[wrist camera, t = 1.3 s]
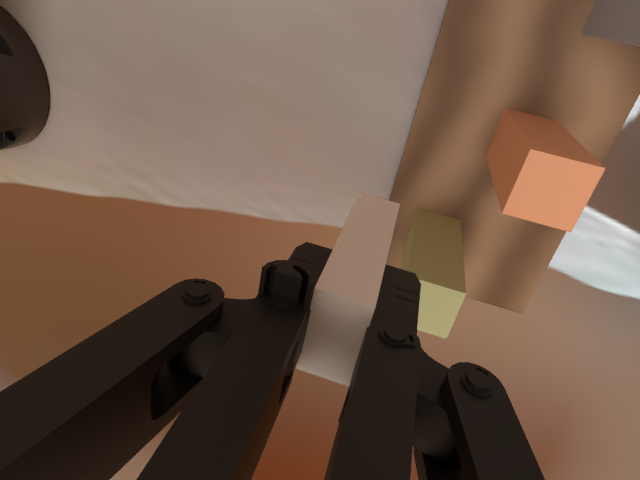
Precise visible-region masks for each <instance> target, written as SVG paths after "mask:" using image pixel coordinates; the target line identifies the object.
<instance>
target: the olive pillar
mask: <svg viewBox="0 0 640 480" xmlns="http://www.w3.org/2000/svg"><path fill="white" fill-rule="evenodd" d="M400 269H403V270H406V271H409V272H413V273H415V274H416V275H417V277H418V279H419V281H420V283H421V291H420V302H419V314H418V325H417V330H419V331H423V332H426V333H429V334H432V335H436V336H439V337H442V338H445V339H446V338H447V336H448V334H449V332H450V330H451V327H452V325H453V323H454V321H455V318H456V316H457V314H458V312H459V309H460V307H461V304H462V303H463V300H464V298H465V296H466V282H465V269H464V256H463V243H462V230H461V220H459V219H455V218H452V217H448V216H445V215H441V214H437V213H434V212H430V211H427V210H423V209H420V208H416V211H415V214H414V217H413V220H412V223H411V226H410V229H409V232H408V235H407V238H406V241H405V244H404V249H403V255H402V261H401V266H400Z"/></svg>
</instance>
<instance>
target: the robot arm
mask: <svg viewBox="0 0 640 480" xmlns="http://www.w3.org/2000/svg"><path fill="white" fill-rule="evenodd" d="M48 109H49V90H48V84H47V79H46V75H45V72H44V68H43V66H42V63H41V60H40V58H39V56H38V54H37V52H36V50H35V48H34V46H33V44H32V43H31V41H30V39H29V38H28V36H27V35H26V33H25V32H24V31H23V29H22V28H21V27H20V26H19V24H18V23H17V22H16V21H15V20H14V19H13V18H12V17H11V16H10V15H9V14H8V13H7V12H6V11H5V10H4V9H2V8H1V7H0V150H4V149H9V148H12V147H15V146H18V145H21V144H25V143H27V142H29V141H31V140H32V139H33V138H35V137H36V136H37V135H38V134H39V132H40V131H41V130H42V128H43V126H44V124H45V122H46V119H47V115H48ZM399 206H400V204H399V203H395V202H392V201H388V200H385V199H381V198H378V197H374V196H371V195H367V194H363V193H359V195H358V197H357V200H356V202H355V204H354V206H353V208H352V210H351V212H350V214H349V216H348V219H347V221H346V223H345V225H344V227H343V229H342V231H341V233H340V236H339V238H338V240H337V242H336V244H335V246H334V248H333V250H332V249H328V248H325V247H322V246H318V245H315V244H312V243H308V242H306V243H304V244H302V245H300V246H298V247H296V248H295V250H294V251H293V253H292V255H291V257H290V258H289V259H288V261H287V260H276V261H273V262H269V263H267V264H266V265H265V266H263V267H262V273H261V280H260V286H259V292H258V295H257V297H256V298H254V299H247V300H246V299H245V300H244V299H243V300H241V299H229V298H224V292H223V290H222V288H221V287H220V286H218V285H217V284H216V283H214V282H211V281H208V280H204V279H189V280H184V281H181V282H179V283H177V284H175V285H173V286H172V287H170V288H168V289H167V290H165V291H163V292H162V293H160V294H159V295H157V296H155V297H154V298H152V299H150V300H149V301H147V302H146V303H144V304H142V305H141V306H139V307H137V308H136V309H134V310H132V311H131V312H129V313H128V314H126V315H124V316H123V317H121V318H120V319H118V320H116V321H115V322H113V323H111V324H110V325H108V326H107V327H105V328H103V329H102V330H100V331H98V332H97V333H95V334H94V335H92V336H90V337H89V338H87V339H85V340H84V341H82V342H80V343H79V344H77V345H76V346H74V347H72V348H71V349H69V350H67V351H66V352H64V353H63V354H61V355H59V356H58V357H56V358H54V359H53V360H51V361H50V362H48V363H46V364H45V365H43V366H42V367H40V368H38V369H37V370H35V371H33V372H32V373H30V374H29V375H27V376H25V377H24V378H22V379H21V380H19V381H17V382H15V383H14V384H12V385H11V386H9V387H7V388H6V389H4V390H2V391H1V392H0V480H109V479H111V478H112V477H113V476H114V475H115V474H116V473H117V472H118V471H119V470H120V469H121V468H122V467H123V466H124V465H125V464H126V463H127V462H128V461H129V460H130V459H132V458H133V457H134V456H135V455H136V454H137V453H138V452H139V451H140V450H141V449H142V448H143V447H144V446H145V445H146V444H147V443H148V442H149V441H151V440H152V439H153V438H154V437H155V436H156V435H157V434H158V433H159V432H160V431H161V430H162V429H163V428H164V427H165V426H166V425H167V424H168V423H170V421H172V420H173V419H174V418H175V417H176V416H177V415H178V414H179V413H180V412H181V413H180V414H179V416H178V417H177V419H176V420H175V422H174V424H173V425H172V427H171V428H170V430H169V431H168V433H167V434H166V436H165V437H164V439H163V440H162V442H161V443H160V445H159V446H158V448H157V449H156V451H155V452H154V454H153V456H152V457H151V459H150V460H149V462H148V463H147V465H146V466H145V468H144V469H143V471H142V472H141V474H140V475H139V477H138V478H137V480H251V479H252V477H253V474H254V472H255V469H256V467H257V465H258V462H259V460H260V457H261V455H262V453H263V450H264V448H265V445H266V443H267V440H268V438H269V435H270V433H271V431H272V428H273V426H274V423H275V421H276V418H277V416H278V413H279V411H280V409H281V406H282V404H283V401H284V399H285V396H286V394H287V391H288V389H289V387H290V384H291V381H292V376H293V372H294V368H295V366H296V364H297V367H296V369H299V370H302V371H304V372H307V373H311V374H314V375H316V376H319V377H323V378H325V379H329V380H331V381H335V382H337V383H340V384H343V385H346V386H349V389H348V393H347V395H346V399H345V402H344V405H343V408H342V411H341V414H340V417H339V420H338V421H339V424H338V428H337V432H336V436H335V440H334V443H333V447H332V451H331V455H330V458H329V462H328V466H327V470H326V474H325V477H324V480H410V473H411V460H412V447H413V446H414V457H415V463H416V468H417V474H418V479H419V480H545V479H544V477H543V474H542V472H541V470H540V468H539V465H538V463H537V461H536V458H535V456H534V454H533V452H532V450H531V447H530V445H529V443H528V440H527V438H526V436H525V433H524V431H523V429H522V427H521V425H520V422H519V420H518V418H517V415H516V413H515V411H514V409H513V406H512V404H511V402H510V399H509V397H508V395H507V393H506V390H505V388H504V387H503V385H502V384H501V382H500V381H499V379H498V378H496V376H494V375H493V374H492V373H491V372H490V371H488V370H486V369H485V368H483V367H481V366H479V365H476V364H472V363H469V362H459V363H457V364H454V365H452V366H451V367H450V369H449V368H447V367H445V366H443V365H442V364H440V363H438V362H437V361H435V360H434V359H432V358H431V357H429V356H428V355H427V354H426V353H425V352H424V351H423V349H422V348H421V345H420V340H419V338H418V336H417V325H418V314H419V302H420V291H421V283H420V281H419V279H418V277H417V275H416V274H415V273H413V272H409V271H406V270H403V269H399V268H396V267H393V266H389V265H386V261H387V257H388V252H389V248H390V244H391V240H392V235H393V231H394V227H395V223H396V219H397V214H398V210H399ZM297 361H298V362H297Z"/></svg>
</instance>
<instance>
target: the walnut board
mask: <svg viewBox="0 0 640 480" xmlns="http://www.w3.org/2000/svg"><path fill="white" fill-rule="evenodd" d="M595 1H596V0H449V3H448V6H447V10H446V13H445V16H444V20H443V23H442V26H441V30H440V33H439V36H438V40H437V43H436V47H435V50H434V53H433V57H432V60H431V63H430V67H429V70H428V73H427V77H426V80H425V83H424V87H423V90H422V94H421V97H420V100H419V104H418V107H417V110H416V114H415V117H414V120H413V124H412V127H411V130H410V134H409V137H408V140H407V144H406V147H405V151H404V154H403V157H402V161H401V164H400V167H399V171H398V174H397V177H396V181H395V184H394V187H393V191H392V194H391V197H390V201H392V202H395V203H399V204H400V206H399V210H398V214H397V219H396V223H395V227H394V231H393V235H392V240H391V244H390V248H389V252H388V257H387V261H386V265H389V266H393V267H396V268H399V269H400V266H401V261H402V255H403V249H404V244H405V241H406V238H407V235H408V232H409V229H410V226H411V223H412V220H413V217H414V214H415V211H416V208H420V209H423V210H427V211H430V212H434V213H437V214H441V215H445V216H448V217H452V218H455V219H459V220H461V230H462V243H463V256H464V269H465V282H466V296H465V297H468V298H471V299H474V300H478V301H481V302H484V303H488V304H491V305H494V306H498V307H501V308H504V309H508V310H511V311H515V312H518V313H521V314H522V313H523V311H524V310H525V308H526V305H527V304H528V302H529V300H530V298H531V296H532V294H533V293H534V291H535V289H536V287H537V285H538V283H539V281H540V280H541V277H542V275H543V274H544V272H545V270H546V268H547V266H548V265H549V263H550V261H551V259H552V257H553V255H554V253H555V251H556V250H557V248H558V246H559V244H560V242H561V240H562V238H563V237H564V235H565V233H566V231H564V230H561V229H557V228H553V227H550V226H546V225H542V224H539V223H535V222H532V221H528V220H524V219H521V218H517V217H513V216H510V215H506V214H502V212H501V208H500V205H499V201H498V198H497V194H496V191H495V187H494V184H493V180H492V176H491V173H490V169H489V166H488V162H487V159H486V155H487V152H488V150H489V147H490V144H491V142H492V139H493V137H494V134H495V132H496V129H497V127H498V124H499V122H500V119H501V117H502V114H503V112H504V109H505V108H507V109H511V110H515V111H519V112H523V113H527V114H531V115H535V116H539V117H543V118H547V119H551V120H556V121H558V122H559V123H560V124H561V125H562V126H563V127H564V128H565V129H566V130H567V131H568V132H569V133H570V134H571V135H572V136H573V137H574V138H575V139H576V140H577V141H578V142H579V143H580V144H581V145H582V146H583V147H584V148H585V149H586V150H587V151H588V152H589V153H590V154H591V155H592V156H593V157H594V158H596V159H597V160H598V161H599V162H600V163H601V164H603V161H604V160H605V158H606V156H607V154H608V152H609V150H610V149H611V146H612V145H613V143H614V141H615V139H616V137H617V135H618V134H619V132H620V130H621V128H622V126H623V124H624V122H625V121H626V119H627V117H628V115H629V113H630V111H631V109H632V107H633V106H634V104H635V102H636V100H637V98H638V96H639V94H640V47H638V46H633V45H629V44H624V43H620V42H615V41H611V40H606V39H602V38H597V37H593V36H588V35H584V34H581V32H582V30H583V28H584V26H585V23H586V21H587V19H588V17H589V14H590V12H591V10H592V7H593V5H594V3H595Z"/></svg>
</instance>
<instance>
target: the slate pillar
mask: <svg viewBox="0 0 640 480" xmlns="http://www.w3.org/2000/svg"><path fill="white" fill-rule="evenodd" d="M581 34H584V35H588V36H593V37H597V38H602V39H606V40H611V41H615V42H620V43H624V44H629V45H633V46H638V47H640V0H596V1H595V3H594V5H593V7H592V10H591V12H590V14H589V17H588V19H587V21H586V23H585V26H584V28H583V30H582V32H581Z"/></svg>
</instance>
